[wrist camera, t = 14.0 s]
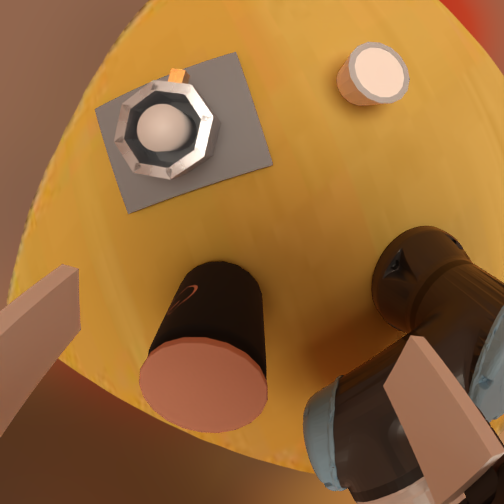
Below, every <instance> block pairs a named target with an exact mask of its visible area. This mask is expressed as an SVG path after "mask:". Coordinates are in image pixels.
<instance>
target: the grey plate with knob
mask: <svg viewBox="0 0 504 504" xmlns="http://www.w3.org/2000/svg"><path fill="white" fill-rule="evenodd" d="M182 70H186V72H187V73H188V74H189V75H190V78H189V82H188V84H191V85H192V86H193V87H194V88H195V89H196V90H197V91H198V92H199V93H200V94H201V95H202V96H203V97H204V99H205V100H206V102H207V103H208V105H209V106H210V108H211V109H212V111H213V112H214V114H215V115H216V117H217V118H218V120H219V121H220V123H221V125H220V130H219V134H218V138H217V142H216V147H215V151H214V155H213V156H212V157H211V158H209V159H207V160H206V161H204V162H203V163H201V164H200V165H198V166H197V167H195V168H194V169H192V170H191V171H189V172H188V173H186V174H184V175H181V176H179V177H176V178H173V179H171V180H170V179H165V178H159V177H154V176H149V175H143V174H137V173H133V171H132V170H131V168H130V167H129V165H128V163H127V162H126V160H125V159H124V157H123V156H122V154H121V152H120V151H119V149H118V148H117V146H116V144H115V143H114V139H115V134H116V128H117V124H118V119H119V114H120V110H121V105H122V103H124V102H125V101H126V100H127V99H129V98H130V97H131V96H133V95H134V94H135V93H137V92H138V91H139V90H141V89H142V88H143V87H145V86H146V85H147V84H145V85H143V86H141V87H139V88H136V89H134V90H132V91H130V92H128V93H126V94H124V95H121V96H119V97H117V98H115V99H113V100H111V101H109V102H107V103H105V104H104V105H102V106H100V107H98V108H96V109H95V112H96V115H97V119H98V123H99V126H100V130H101V133H102V136H103V140H104V143H105V146H106V150H107V153H108V156H109V159H110V162H111V165H112V169H113V172H114V175H115V178H116V181H117V183H118V186H119V189H120V192H121V195H122V198H123V201H124V203H125V206H126V209H127V212H128V214H129V213H132V212H135V211H137V210H140V209H142V208H145V207H148V206H150V205H153V204H156V203H158V202H161V201H164V200H167V199H169V198H172V197H175V196H178V195H181V194H184V193H186V192H189V191H192V190H195V189H198V188H201V187H204V186H207V185H210V184H213V183H216V182H219V181H222V180H225V179H228V178H232V177H235V176H238V175H241V174H244V173H248V172H251V171H254V170H257V169H261V168H264V167H268V166H271V165H273V163H272V159H271V156H270V153H269V150H268V147H267V143H266V140H265V137H264V134H263V131H262V128H261V125H260V121H259V118H258V115H257V112H256V109H255V106H254V103H253V100H252V97H251V94H250V91H249V88H248V85H247V82H246V79H245V76H244V74H243V71H242V68H241V65H240V62H239V59H238V56H237V54H236V52H234V53H230V54H227V55H224V56H220V57H217V58H214V59H211V60H208V61H205V62H202V63H199V64H196V65H193V66H191V67H188V68H185V69H182ZM169 75H170V74H169ZM169 75H167V76H164V77H162V78H159V79H157V80H158V81H167V82H168V79H169ZM148 84H149V83H148ZM200 123H201V118H200V116H199V115H198V113H197V112H196V110H195V109H194V107H193V106H192V104H189V103H182V102H175V101H173V102H171V103H170V104H169V105H168V104H157V105H154V106H151V107H150V108H148V109H147V110H146V111H145V112H144V113H143V114H142V115H141V117H140V119H139V121H138V124H137V135H138V138H139V140H140V142H141V143H142V145H143V146H144V147H146V148H147V149H149V150H152V151H155V153H156V154H157V156H158V157H159V159H160V160H162V161H168V162H173V163H176V162H178V161H179V160H180V159H182V158H183V157H185V156H186V155H188V154H189V153H191V152H192V151H194V149H195V144H196V140H197V135H198V131H199V127H200Z"/></svg>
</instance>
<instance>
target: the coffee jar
mask: <svg viewBox="0 0 504 504" xmlns="http://www.w3.org/2000/svg"><path fill="white" fill-rule="evenodd" d="M139 384H140V387H141V390H142V393H143V396H144V398H145V400H146V401H147V402H148V403H149V405H150V406H151V407H152V409H153V410H154V411H155V412H157V413H158V414H159V415H161V416H162V417H163V418H165V419H166V420H167V421H169V422H171V423H174V424H176V425H178V426H180V427H182V428H186V429H190V430H194V431H198V432H210V433H220V432H226V431H231V430H236V429H238V428H241V427H243V426H245V425H247V424H249V423H251V422H252V421H253V420H254V419H255V418H256V417H258V416H259V415H260V414H261V413H262V410H263V408H264V406H265V404H266V402H267V400H268V398H267V381H266V352H265V337H264V321H263V306H262V293H261V291H260V288H259V286H258V283H257V282H256V281H255V279H254V278H253V277H252V276H251V275H250V273H249V272H247V271H245V270H244V269H242V268H241V267H239V266H237V265H234V264H231V263H227V262H208V263H205V264H202V265H200V266H197V267H196V268H194V269H193V270H192V271H190V272H189V273H188V274H187V275H186V277H185V278H184V280H183V281H182V283H181V285H180V287H179V289H178V291H177V293H176V295H175V297H174V299H173V301H172V303H171V305H170V307H169V309H168V311H167V313H166V315H165V317H164V319H163V321H162V323H161V325H160V328H159V330H158V332H157V334H156V336H155V338H154V340H153V342H152V344H151V347H150V349H149V353H148V357H147V359H146V361H145V362H144V364H143V366H142V367H141V369H140V379H139Z"/></svg>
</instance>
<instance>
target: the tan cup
mask: <svg viewBox="0 0 504 504" xmlns="http://www.w3.org/2000/svg"><path fill="white" fill-rule="evenodd" d="M409 80H410V79H409V74H408V69H407V66H406V65H405V63H404V61H403V59H402V58H401V56H400V55H399V54H398V53H396V52H395V51H394V50H393V49H392V48H390V47H388V46H386V45H384V44H381V43H376V42H367V43H364V44H362V45H359V46H357V47H356V49H355V50H354V51H353V52H352V53H351V55H350V56H349V57H348V59H347V60H346V62H345V63H344V65H343V66H342V68H341V69H340V70H339V72H338V75H337V79H336V81H337V87H338V90H339V91H340V93H341V95H342V96H343V97H344V98H345V99H346V100H347V101H348V102H350V103H352V104H355V105H358V106H361V105H376V104H388V103H393V102H395V101H397V100H399V99H401V98H402V97H403V96H404V94H405V93H406V92H407V90H408V85H409Z"/></svg>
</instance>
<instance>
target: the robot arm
mask: <svg viewBox="0 0 504 504" xmlns="http://www.w3.org/2000/svg"><path fill="white" fill-rule="evenodd" d="M372 296H373V300H374V303H375V306H376V308H377V310H378V311H379V313H380V314H381V315H382V317H383V318H384V319H385V321H386V322H387V323H388V324H390V325H391V326H392V327H394V328H396V329H398V330H400V331H403V332H405V333H407V335H405V336H404V337H402V338H401V339H399V340H398V341H397V342H395V343H394V344H392V345H391V346H389V347H388V348H386V349H385V350H384V351H382V352H381V353H379V354H378V355H376V356H375V357H373V358H372V359H370V360H368V361H367V362H365V363H364V364H362V365H361V366H359V367H357V368H356V369H354V370H353V371H351V372H349V373H348V374H346V375H345V376H344V375H340V376H339V377H337V378H336V380H335V381H334V382H333V383H331V384H329V385H328V386H326V387H325V388H323V389H322V390H320V391H318V392H317V393H315V394H314V395H313V396H312V397H311V398H310V399H309V400H308V402H307V404H306V407H305V410H304V415H303V433H304V440H305V445H306V449H307V453H308V456H309V459H310V462H311V464H312V467H313V469H314V471H315V473H316V475H317V477H318V478H319V480H320V481H321V482H323V483H324V485H325V487H327V488H328V489H329V490H332V491H338V490H339V491H343V490H345V489H347V488H348V489H349V491H350V493H351V494H352V496H353V498H354V500H355V501H356V503H357V504H504V445H503V443H502V442H501V440H500V439H499V437H498V436H497V434H496V432H495V431H494V429H493V428H492V427H490V426H491V425H490V423H489V422H491V420H492V419H493V420H494V419H497V418H499V417H500V416H501V415H503V414H504V283H503V282H501V281H500V280H498V279H497V278H495V277H494V276H492V275H491V274H489V273H487V272H486V271H484V270H483V269H481V268H480V267H478V266H476V265H475V264H473V263H472V261H471V260H470V258H469V257H468V255H467V254H466V252H465V251H464V250H463V248H462V246H461V245H460V243H459V242H458V241H457V240H456V239H455V238H454V237H453V236H452V235H450V234H449V233H447V232H445V231H443V230H441V229H439V228H436V227H431V226H421V227H416V228H413V229H410V230H408V231H406V232H404V233H403V234H401V235H400V236H398V237H397V238H396V239H395V240H394V241H393V242H392V243H391V244H390V245H389V246H388V247H387V248H386V250H385V251H384V252H383V254H382V256H381V257H380V259H379V261H378V263H377V266H376V268H375V271H374V275H373V280H372ZM80 330H81V325H80V308H79V269H78V268H74V267H71V266H67V265H64V264H62V265H61V266H59V267H58V268H56V269H55V270H54V271H52V272H51V273H49V274H48V275H47V276H45V277H44V278H43V279H41V280H40V281H39V282H37V283H36V284H35V285H33V286H32V287H31V288H29V289H28V290H27V291H25V292H24V293H23V294H21V295H20V296H19V297H18V298H16V299H15V300H14V301H12V302H11V303H10V304H9V305H7V306H6V307H5V308H4V309H3V310H1V311H0V437H1V435H2V434H3V433H4V431H5V430H6V428H7V427H8V425H9V424H10V422H11V421H12V419H13V418H14V416H15V415H16V414H17V412H18V411H19V409H20V408H21V406H22V405H23V404H24V402H25V401H26V400H27V398H28V397H29V395H30V394H31V393H32V391H33V390H34V388H35V387H36V386H37V384H38V383H39V382H40V380H41V379H42V378H43V377H44V375H45V374H46V373H47V371H48V370H49V368H50V367H51V366H52V364H53V363H54V362H55V361H56V360H57V358H58V357H59V356H60V355H61V353H62V352H63V351H64V350H65V348H66V347H67V346H68V345H69V343H70V342H71V341H72V340H73V338H74V337H75V336H76V335H77V333H78V332H79V331H80ZM463 493H465V495H466V498H465V496H464V495H463Z"/></svg>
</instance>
